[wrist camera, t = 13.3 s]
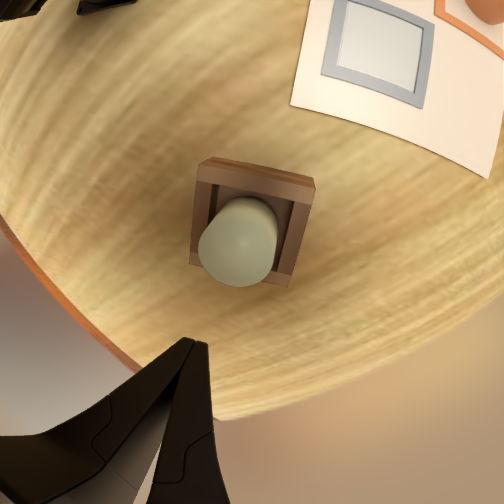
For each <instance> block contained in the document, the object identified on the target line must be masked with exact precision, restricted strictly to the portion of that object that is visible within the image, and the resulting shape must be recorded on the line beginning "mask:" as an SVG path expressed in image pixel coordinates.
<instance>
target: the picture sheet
mask: <svg viewBox="0 0 504 504" xmlns="http://www.w3.org/2000/svg"><path fill="white" fill-rule="evenodd" d="M290 105H291V106H295V107H300V108H304V109H308V110H312V111H316V112H320V113H324V114H328V115H332V116H335V117H339V118H342V119H346V120H349V121H352V122H356V123H359V124H362V125H365V126H368V127H371V128H374V129H377V130H380V131H383V132H385V133H388V134H391V135H394V136H396V137H399V138H401V139H404V140H407V141H409V142H411V143H414V144H416V145H419V146H421V147H423V148H426V149H428V150H430V151H432V152H435V153H437V154H439V155H441V156H443V157H445V158H447V159H450V160H452V161H454V162H456V163H458V164H460V165H462V166H463V167H465V168H467V169H469V170H471V171H473V172H475V173H477V174H478V175H480V176H482V177H484V178H486V179H488V177H489V173H490V170H491V166H492V163H493V159H494V155H495V151H496V147H497V142H498V138H499V133H500V128H501V122H502V116H503V110H504V23H500V24H496V25H489V24H487V23H485V22H483V21H482V20H480V19H479V18H478V17H477V16H476V15H475V14H474V13H473V12H472V11H471V9H470V8H469V7H468V5H467V4H466V2H465V0H311V2H310V7H309V12H308V17H307V23H306V28H305V33H304V38H303V43H302V48H301V53H300V58H299V63H298V68H297V73H296V78H295V83H294V88H293V92H292V97H291V102H290Z"/></svg>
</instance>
